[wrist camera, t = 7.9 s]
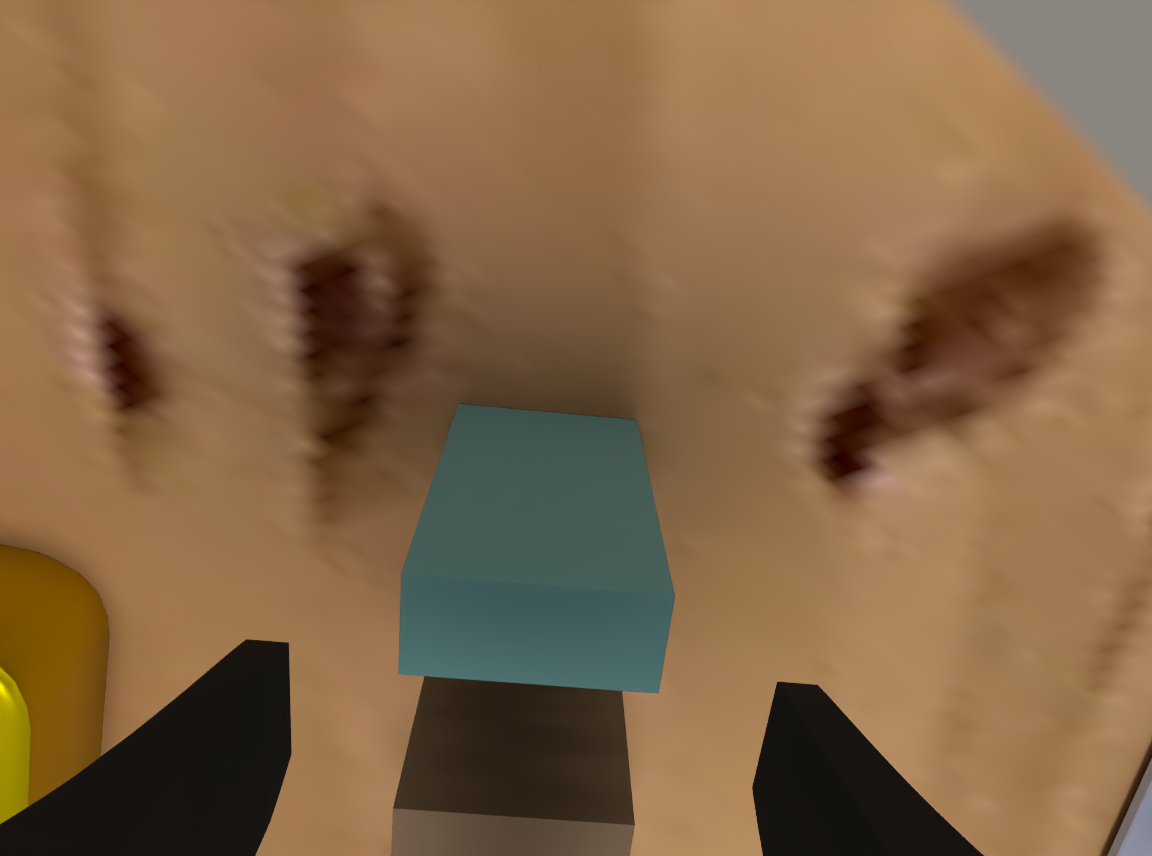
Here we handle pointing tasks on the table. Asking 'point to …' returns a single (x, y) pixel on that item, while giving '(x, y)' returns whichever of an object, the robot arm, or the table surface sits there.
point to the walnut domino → (514, 772)
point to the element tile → (47, 676)
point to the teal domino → (538, 556)
